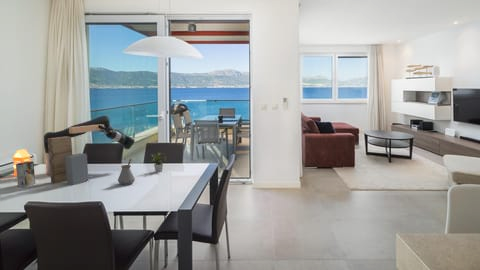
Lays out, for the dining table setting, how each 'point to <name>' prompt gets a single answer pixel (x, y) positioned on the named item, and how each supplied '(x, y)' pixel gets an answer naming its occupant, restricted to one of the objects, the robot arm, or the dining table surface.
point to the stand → (59, 157)
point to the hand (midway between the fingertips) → (96, 125)
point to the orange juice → (20, 158)
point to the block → (84, 129)
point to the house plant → (158, 162)
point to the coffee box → (25, 174)
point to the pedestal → (76, 168)
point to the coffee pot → (126, 175)
